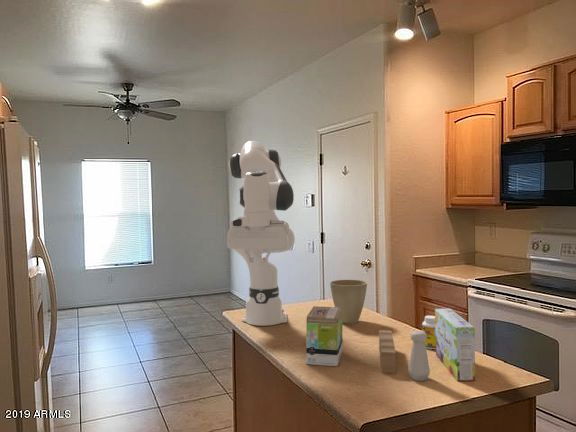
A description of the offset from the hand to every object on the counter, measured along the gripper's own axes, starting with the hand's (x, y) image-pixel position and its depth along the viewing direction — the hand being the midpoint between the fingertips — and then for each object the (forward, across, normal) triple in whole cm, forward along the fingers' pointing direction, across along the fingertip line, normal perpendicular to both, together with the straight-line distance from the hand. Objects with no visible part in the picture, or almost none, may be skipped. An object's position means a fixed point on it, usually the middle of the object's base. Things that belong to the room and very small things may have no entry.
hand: (258, 262), depth 154 cm
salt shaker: (+29, -49, +18) cm, 60 cm away
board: (+29, -41, +4) cm, 50 cm away
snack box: (+30, -60, +8) cm, 67 cm away
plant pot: (+29, -28, -40) cm, 57 cm away
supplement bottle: (+29, -56, -10) cm, 64 cm away
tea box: (+29, -22, +4) cm, 37 cm away
